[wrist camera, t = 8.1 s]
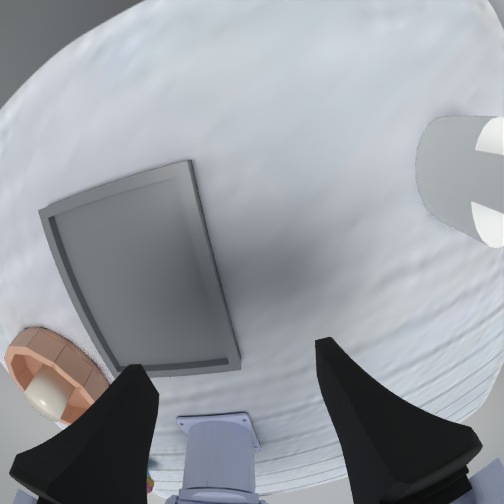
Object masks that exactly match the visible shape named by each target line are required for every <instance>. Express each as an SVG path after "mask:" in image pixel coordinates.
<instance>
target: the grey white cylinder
mask: <svg viewBox="0 0 504 504" xmlns="http://www.w3.org/2000/svg"><path fill="white" fill-rule="evenodd" d="M415 167H416V181H417V186H418V191H419V194H420V197H421V199H422V201H423V203H424V206H425V207H426V208H427V210H428V211H429V212H430V214H431V215H432V216H434V217H435V218H436V219H438V220H439V221H441V222H443V223H445V224H447V225H449V226H451V227H453V228H455V229H457V230H459V231H461V232H463V233H465V234H467V235H469V236H471V237H473V238H474V239H476V240H478V241H480V242H482V243H484V244H485V245H487V246H489V247H493V248H499V247H503V246H504V118H503V117H498V116H445V117H442V118H438V119H436V120H435V121H433V122H432V123H431V124H430V125H429V126H428V127H427V129H426V130H425V132H424V133H423V135H422V137H421V140H420V143H419V145H418V148H417V155H416V162H415Z"/></svg>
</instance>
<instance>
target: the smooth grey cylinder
mask: <svg viewBox="0 0 504 504" xmlns="http://www.w3.org/2000/svg"><path fill="white" fill-rule="evenodd" d="M74 390H75V386H74V385H72V384H71V383H70V382H69V381H67V380H66V379H65V378H64V377H63V376H61V375H60V374H59V373H58V372H57V371H56V370H55V369H53V368H52V367H50V366H48V365H46V364H44V363H43V364H42V366H41V367H40V369H39V370H38V372H37V373H36V375H35V376H34V378H33V379H32V381H31V383H30V384H29V386H28V387H27V389H26V390H25V392H24V397H25V399H26V401H27V402H28V404H29V405H30V406H31V407H32V408H33V409H34V410H35V411H37V412H38V413H39V414H40V415H42V416H43V417H45V418H47V419H49V420H52V421H56V422H57V421H59V420H60V418H61V416H62V414H63V412H64V410H65V408H66V405H67V403H68V401H69V399H70V397H71V395H72V393H73V392H74Z"/></svg>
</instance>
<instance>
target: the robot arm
mask: <svg viewBox="0 0 504 504" xmlns="http://www.w3.org/2000/svg"><path fill="white" fill-rule="evenodd" d="M315 349H316V370H317V378H318V382H319V386H320V389H321V393H322V397H323V399H324V402H325V404H326V407H327V410H328V412H329V415H330V417H331V420H332V422H333V425H334V428H335V430H336V433H337V435H338V438H339V441H340V444H341V447H342V451H343V455H344V459H345V464H346V468H347V472H348V477H349V481H350V486H351V491H352V496H353V502H354V504H504V467H503V465H502V463H501V461H500V460H499V458H496V459H495V460H494V461H492V462H491V463H490V464H488V465H487V466H486V467H484V468H483V469H482V470H480V471H479V472H478V473H476V474H475V475H474V476H472V477H471V478H469V479H468V478H467V476H466V474H467V473H469V470H468V468H467V466H466V465H467V464H468V463H469V462H470V461H471V460H472V459H473V458H474V457H475V456H476V455H477V454H478V453H479V452H480V450H481V449H482V446H483V445H482V443H481V442H480V440H479V438H478V436H477V435H476V433H475V432H474V431H473V429H472V428H471V427H469V426H465V425H461V424H458V423H454V422H451V421H448V420H445V419H443V418H440V417H437V416H435V415H432V414H430V413H428V412H426V411H424V410H422V409H420V408H418V407H416V406H414V405H412V404H410V403H408V402H407V401H405V400H403V399H402V398H400V397H398V396H397V395H395V394H394V393H392V392H391V391H389V390H388V389H387V388H385V387H384V386H382V385H381V384H380V383H379V382H377V381H376V380H375V379H374V378H372V377H371V376H370V375H369V374H368V373H366V372H365V371H364V370H363V369H362V368H361V367H360V366H359V365H358V364H357V363H355V362H354V361H353V360H352V359H351V358H350V357H349V356H348V355H347V354H346V353H345V352H344V351H343V349H342V348H341V347H340V346H339V345H338V344H337V343H336V342H335V341H334V339H333V338H331V337H327V338H323V339H319V340H315ZM158 406H159V393H158V391H157V390H156V388H155V386H154V385H153V383H152V382H151V380H150V378H149V377H148V375H147V373H146V371H145V370H144V368H143V366H142V364H129V365H128V366H127V367H126V368H125V369H124V370H123V371H122V372H121V374H120V375H119V376H118V377H117V378H116V379H115V380H114V381H113V383H112V384H111V385H110V386H109V387H108V388H107V389H106V390H105V392H104V393H103V394H102V395H101V396H100V397H99V398H98V399H97V400H96V401H95V402H94V403H93V404H92V405H91V406H90V407H89V408H88V409H87V410H86V411H85V412H84V413H83V414H82V415H81V416H80V417H79V418H78V419H77V420H75V421H74V422H73V423H72V424H71V425H69V426H68V427H67V428H65V429H64V430H63V431H61V432H60V433H58V434H57V435H55V436H54V437H53V438H51V439H49V440H47V441H46V442H44V443H42V444H40V445H38V446H36V447H34V448H32V449H30V450H27V451H25V452H22V453H20V454H17V455H16V457H15V460H14V462H13V465H12V467H11V470H10V472H9V474H10V476H11V477H12V478H14V479H15V480H16V481H17V482H19V483H20V484H22V485H23V486H25V487H26V488H27V489H29V490H30V491H32V492H33V493H35V494H36V495H38V496H39V498H38V500H37V499H35V498H33V497H32V496H30V495H28V494H26V493H25V492H23V491H22V490H20V489H18V491H17V494H16V496H15V499H14V503H13V504H147V467H148V458H149V452H150V447H151V443H152V438H153V433H154V429H155V424H156V420H157V415H158ZM176 422H177V423H178V425H179V426H180V428H181V429H182V430H183V432H184V433H185V434H186V436H187V437H188V440H187V449H186V457H185V467H184V476H183V487H182V489H179V496H177V495H172V496H171V497H170V498H168V499H167V500H166V502H165V504H268V503H267V502H266V501H265V500H259V495H258V493H255V487H256V485H255V470H254V455H253V452H257V451H260V450H261V447H260V444H259V442H258V439H257V437H256V434H255V431H254V429H253V426H252V424H251V421H250V418H249V416H248V414H246V413H238V414H229V415H217V416H201V417H178V418H177V419H176Z"/></svg>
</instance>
